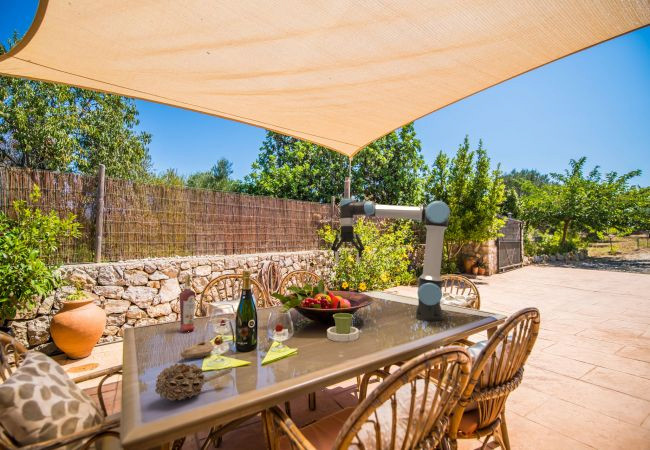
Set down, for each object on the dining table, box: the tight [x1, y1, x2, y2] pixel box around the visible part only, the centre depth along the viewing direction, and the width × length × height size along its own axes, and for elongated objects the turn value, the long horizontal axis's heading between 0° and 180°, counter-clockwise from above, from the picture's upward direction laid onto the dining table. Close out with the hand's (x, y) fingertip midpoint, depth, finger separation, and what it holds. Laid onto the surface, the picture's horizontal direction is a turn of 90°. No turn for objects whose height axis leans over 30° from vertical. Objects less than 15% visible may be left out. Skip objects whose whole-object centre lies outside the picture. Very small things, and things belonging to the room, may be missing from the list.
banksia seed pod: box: [154, 362, 235, 402], centre depth 93 cm, size 22×10×10 cm, turn 129°
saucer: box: [326, 325, 360, 343], centre depth 146 cm, size 14×14×3 cm
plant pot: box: [332, 312, 354, 334], centre depth 146 cm, size 9×9×9 cm
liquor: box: [179, 274, 196, 333], centre depth 158 cm, size 7×7×28 cm
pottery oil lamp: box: [180, 340, 215, 359], centre depth 123 cm, size 9×12×7 cm
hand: (347, 263), depth 180 cm, fingers open, 13 cm apart
